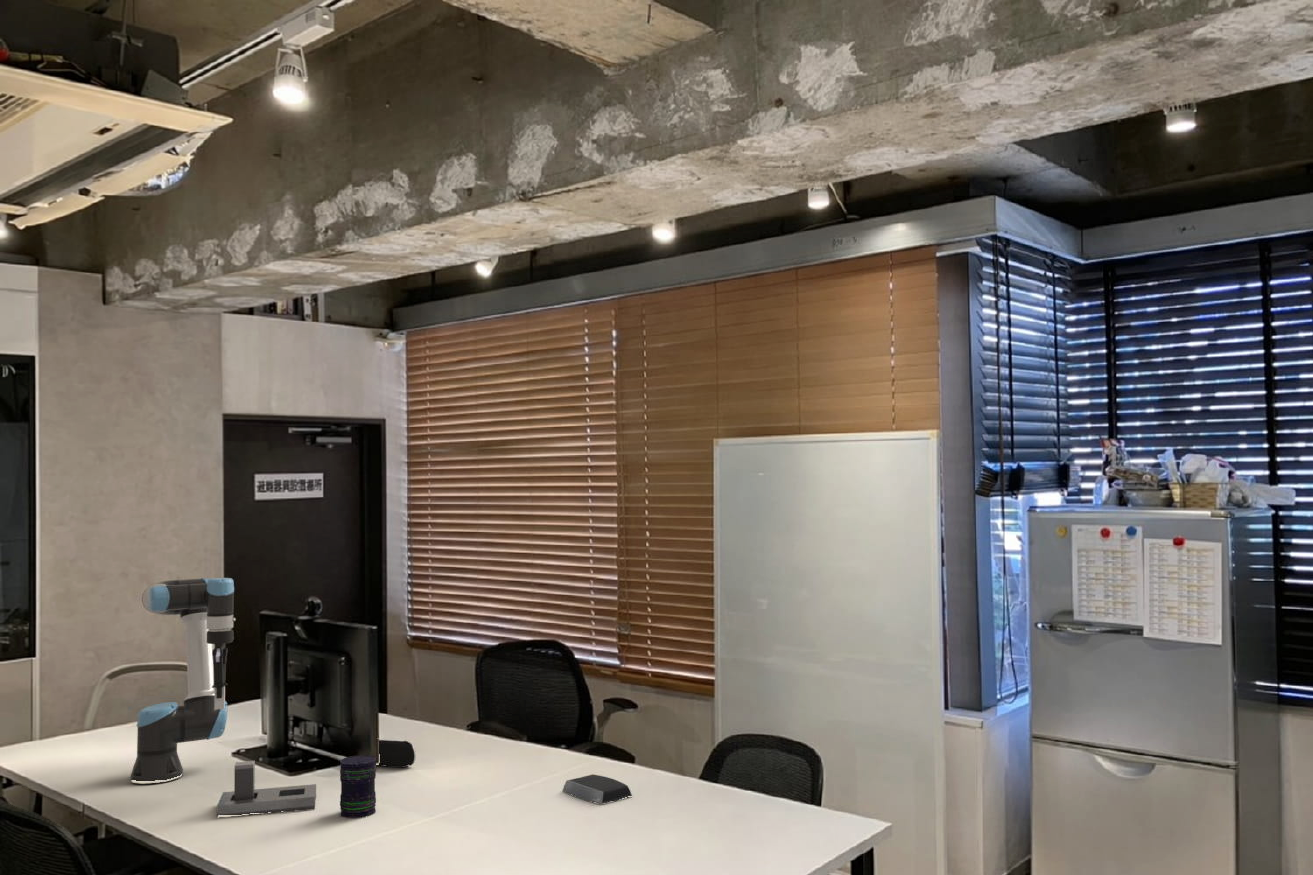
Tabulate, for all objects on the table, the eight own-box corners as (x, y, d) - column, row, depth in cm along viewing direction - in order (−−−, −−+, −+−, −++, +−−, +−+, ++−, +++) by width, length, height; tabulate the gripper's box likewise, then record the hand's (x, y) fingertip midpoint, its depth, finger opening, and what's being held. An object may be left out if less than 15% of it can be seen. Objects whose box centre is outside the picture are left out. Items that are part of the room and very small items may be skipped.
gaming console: (413, 769, 342) (417, 766, 345) (411, 742, 342) (415, 739, 345) (361, 766, 348) (365, 763, 350) (360, 739, 348) (364, 737, 350)
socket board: (223, 804, 306) (223, 792, 306) (316, 795, 313) (316, 783, 313) (216, 818, 292) (217, 805, 293) (314, 809, 300) (314, 796, 300)
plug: (236, 803, 302) (236, 761, 303) (254, 802, 304) (254, 760, 304) (234, 808, 298) (234, 765, 299) (253, 806, 299) (253, 764, 300)
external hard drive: (599, 807, 299) (598, 792, 299) (560, 793, 313) (560, 779, 314) (634, 798, 307) (634, 784, 307) (595, 784, 322) (594, 771, 322)
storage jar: (338, 810, 298) (338, 757, 299) (374, 806, 302) (374, 753, 302) (341, 820, 289) (341, 765, 290) (377, 815, 292) (377, 761, 293)
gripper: (231, 631, 310) (230, 711, 309) (235, 626, 323) (235, 703, 322) (203, 632, 308) (203, 713, 307) (209, 627, 321) (209, 705, 319)
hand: (219, 708), depth 314 cm, fingers closed
